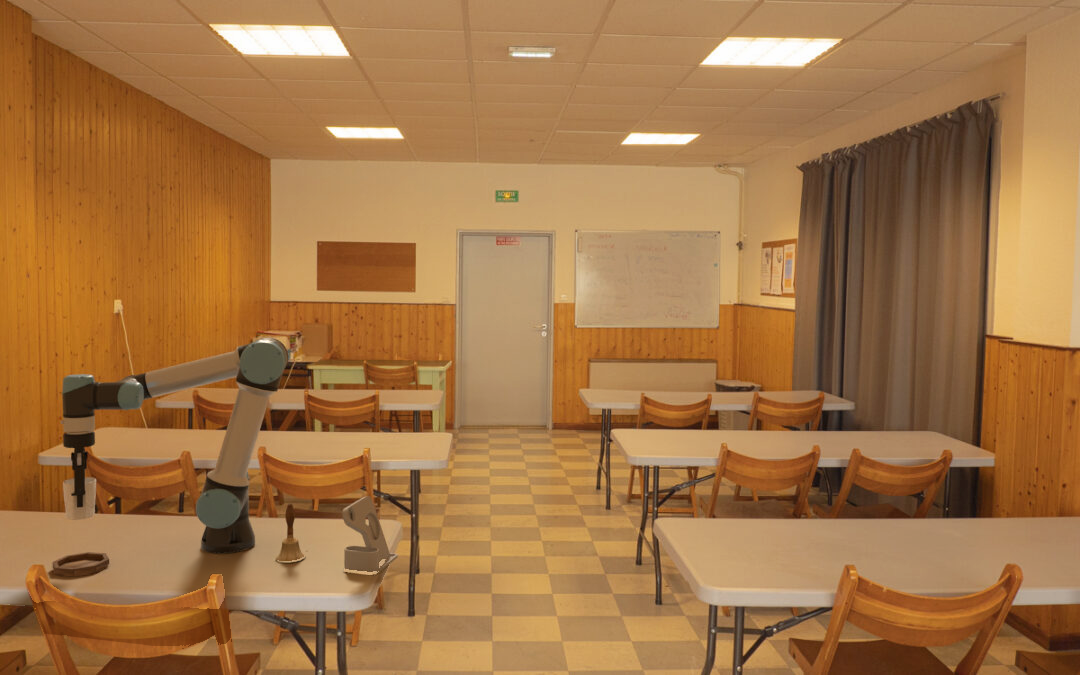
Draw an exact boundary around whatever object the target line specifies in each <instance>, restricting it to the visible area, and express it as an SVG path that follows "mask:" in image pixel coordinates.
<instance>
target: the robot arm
mask: <svg viewBox="0 0 1080 675" xmlns="http://www.w3.org/2000/svg"><path fill="white" fill-rule="evenodd" d="M288 362H289V351H288V349H287V347H286V346H285V344H284V343H283V342H282V341H281V340H279V339H276V338H273V337H262V338H261V337H260V338H259V339H257V340H254V341H252V342H250V343H248V344H244V345H240V346H237V347H236V349H235V350H233V351H230V352H225V353H221V354H216V355H213V356H208V357H203V358H200V359H196V360H193V361H188V362H184V363H180V364H176V365H172V366H168V367H164V368H160V369H156V370H151V371H147V372H144V373H139V374H131V375H128V376H125V377H123V379H120V380H117V381H110V382H109V381H108V382H107V381H106V382H104V381H103V382H102V381H101V382H99V381H96V380H95V377H94V375H93V374H86V373H82V374H80V373H79V374H69V375H66V376H64V378H62V390H61V395H62V398H61V399H62V419H63V420H60V422H59V423H60V424H61V425H62V426H63V432H64V433H63V434H62V439H63V440H62V445H63V447H64V448H66V449H73V451H71V453H70V460H71V468H72V471H73V472H74V473H73V474H74V477H73V478H74V493H71V496H74V519H81V520H84V519H83V518H86V494H85V493H86V491H85V477H86V470H87V468H88V464H87V463H88V462H87V461H88V458H89V457H88V456H89V453H88V450H87V451H86V448H90V447H92V446H94V445H95V444H96V433H95V431H94V430H95V429H96V414H95V410H96V411H100V410H101V411H102V410H103V411H104V410H105V411H106V410H107V411H110V410H111V411H114V410H119V411H120V410H123V411H129V410H138V409H141V407H142V405H143V404H144V401H145V400H149V399H153V398H156V397H160V396H164V395H168V394H172V393H177V392H181V391H185V390H190V389H192V388H193V389H194V388H197V387H201V386H205V385H210V384H214V383H217V382H221V381H226V380H230V379H233V378H234V379H235V383H236V385H237V386H238V391H237V395H236V398H235V401H234V404H233V406H232V411H231V415H230V417H229V418H230V419H229V421H228V424H227V427H226V430H225V435H224V437H223V439H222V440H223V441H222V444H221V447H220V451H219V454H218V458H217V461H216V464H215V467H214V469H212V470H210V471H208V472H207V474H206V477H205V481H204V484H203V487H202V491H201V494H200V495H199V497H198V498H197V500H196V505H195V512H196V516H197V518H198V520H199V521H200V522H201V523H202V524H203V526H204V525H205V527H204V530H203V533H202V537H201V540H200V548H201V550H202V551H203V552H206V553H209V554H229V553H237V552H242V551H245V550H248V549H250V548H252V547H254V546H255V544H256V536H255V533H254V529H253V527H252V524H251V521H250V515H249V513H250V512H249V511H250V508H249V506H250V504H249V503H250V502H249V499H250V498H249V494H250V493H249V491H250V490H249V486H250V477H249V467H250V464H251V461H252V457H253V453H254V450H255V448H256V444H257V441H258V437H259V433H260V430H261V427H262V424H263V421H264V417H265V414H266V410H267V408H268V404H269V401H270V398H271V396H272V395H273V394H275V393H277V392H278V390H279V387H280V383H281V380H282V376H283V373H284V371H285V369H286V367H287V365H288ZM80 489H82V490H80Z"/></svg>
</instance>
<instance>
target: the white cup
mask: <svg viewBox="0 0 1080 675" xmlns="http://www.w3.org/2000/svg"><path fill="white" fill-rule="evenodd" d="M62 489H63V501H64V508H65V511H64V512H65V518H66V519H67V520H71V521H78V520H86V519H91V518H93V517H94V515H95V510H96V509H95V508H96V507H95V506H96V496H97V495H96V492H97V479H96V478H95V477H89V476H85V491H86V493H85V494H86V518H83V519H74V496H71V493H74V477H72V478H69V479H64V481H63V482H62ZM80 490H82V489H80Z"/></svg>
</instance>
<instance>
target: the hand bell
mask: <svg viewBox="0 0 1080 675" xmlns="http://www.w3.org/2000/svg"><path fill="white" fill-rule="evenodd" d="M284 515H285V522H286V526H287V528H286V529H287V531H286V538H284V539H283V540H282V542H281V549H280V552H279V553H278V555H277V556H276V557H275V559H276V560H279V561H292V560H297V559H300V558H302V557H304V555H305V554H304V553H303V551H302V549H301V547H300V544H299V539H297V538H295V537H294V523H295V517H296V513H295V509H294V505H293V504H292V503H288V504H287V507H286V510H285V514H284ZM276 560H275V561H276Z"/></svg>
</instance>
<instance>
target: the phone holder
mask: <svg viewBox="0 0 1080 675" xmlns="http://www.w3.org/2000/svg"><path fill="white" fill-rule="evenodd" d="M341 515H342V519H343V523H344V524H345V525H346V526H347V527H349V528H350V529H352V530H353V531H356V532H357V533H359V534H360V535H361V536H362V539H363V542H364V545H365V546H362V545H361V546H359V545H349V546H345V548H344V555H343V556H344V558H343V561H344V562H343V563H344V566H343V567H344V568H345V569H349V570H357V571H367V572H373V571H377V572H378V571H381V572H382V571H383V570H384V569H385V568H386V567H387V566H389V565H390V564H392V563H393V562H394V561H395V560H396V559H397V558H398V557H399V555H398V553H395V552H390V549H389V547H388V544H387V540H386V538H385V534H384V531H383V529H382V526H381V523H380V522H381V521H380V519H379V517H378V513H377V509H376V507H375V504H374V500H373V498H372V497H371V496H370V495H367V496H363V497H361V498H360V499H357V500H356V501H355V502H352V503H351V504H350V505H348V506H346V507H345V508H343V509H342V512H341ZM367 519H368V521H366V520H367ZM366 522H368V524H366ZM382 559H386V560H385V563H384V564H383V565H382V566H380V568H379V562H380V561H381V560H382ZM344 568H343V569H344Z"/></svg>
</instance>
